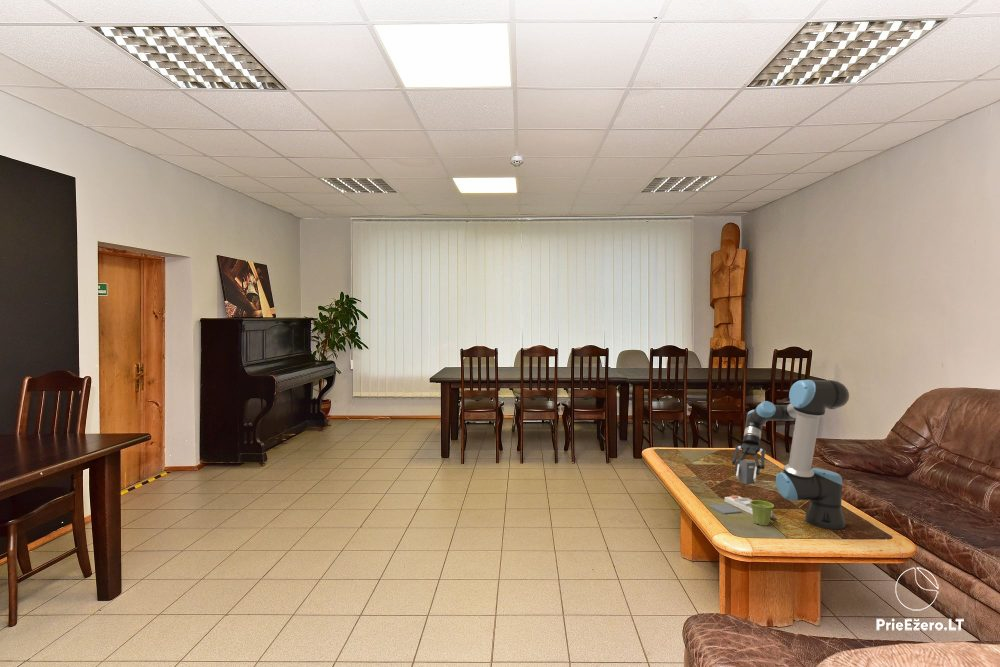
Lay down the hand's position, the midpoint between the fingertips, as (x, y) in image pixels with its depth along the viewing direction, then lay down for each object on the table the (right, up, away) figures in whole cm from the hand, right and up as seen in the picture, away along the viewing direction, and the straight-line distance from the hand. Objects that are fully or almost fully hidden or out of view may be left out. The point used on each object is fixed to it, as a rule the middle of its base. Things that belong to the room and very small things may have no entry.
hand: (745, 478), depth 253 cm
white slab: (+3, -15, -1) cm, 15 cm away
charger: (+2, -3, +3) cm, 4 cm away
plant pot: (-1, -15, -16) cm, 23 cm away
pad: (-10, -14, 0) cm, 18 cm away
